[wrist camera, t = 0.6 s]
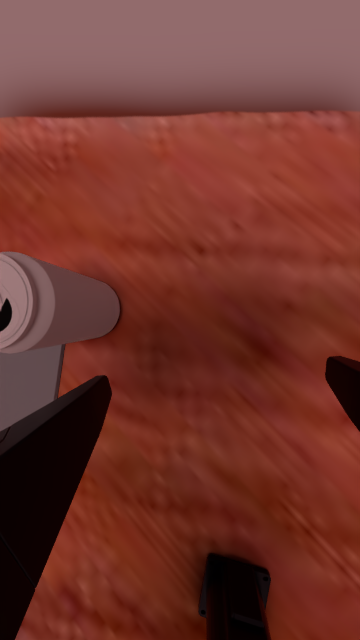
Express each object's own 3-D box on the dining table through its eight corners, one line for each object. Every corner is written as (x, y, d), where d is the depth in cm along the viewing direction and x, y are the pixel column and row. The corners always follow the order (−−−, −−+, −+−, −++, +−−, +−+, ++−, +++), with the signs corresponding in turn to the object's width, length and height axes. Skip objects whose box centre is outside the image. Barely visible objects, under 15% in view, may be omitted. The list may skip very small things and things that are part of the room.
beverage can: (82, 346, 24) (-40, 375, 12) (60, 294, 24) (-80, 273, 12) (131, 324, 23) (54, 331, 11) (109, 271, 23) (10, 224, 11)
